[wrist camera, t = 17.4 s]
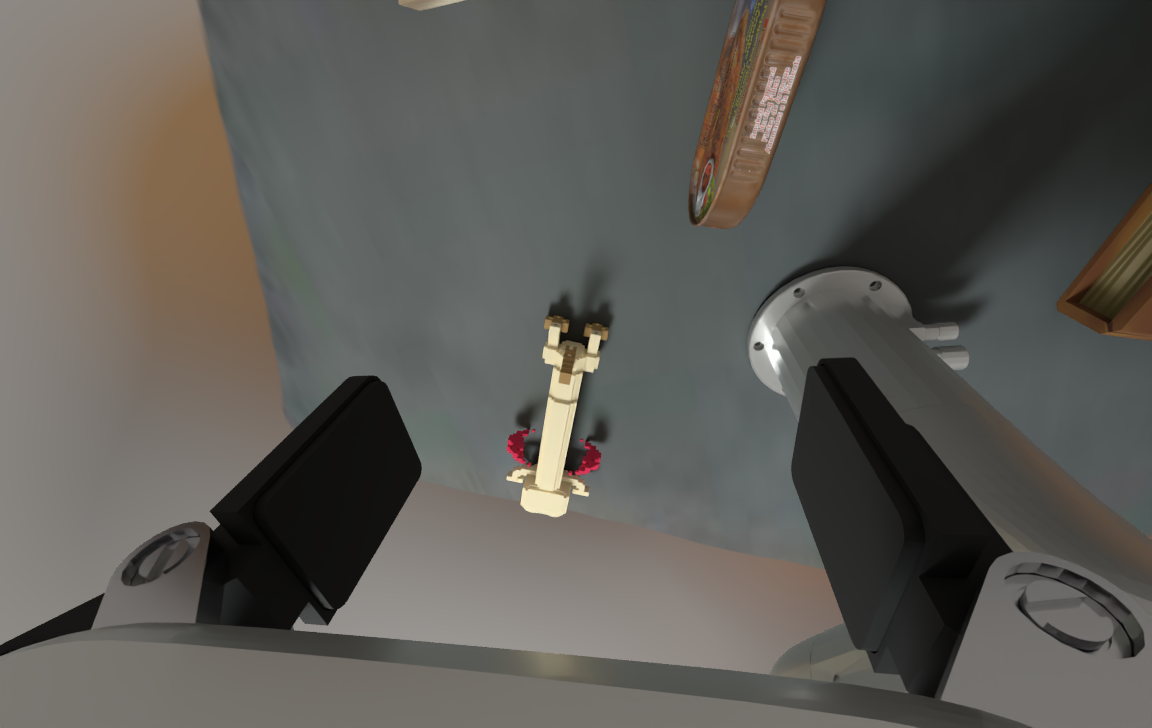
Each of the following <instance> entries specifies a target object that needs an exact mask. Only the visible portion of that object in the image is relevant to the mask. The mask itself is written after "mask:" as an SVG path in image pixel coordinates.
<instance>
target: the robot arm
mask: <svg viewBox="0 0 1152 728" xmlns="http://www.w3.org/2000/svg"><path fill="white" fill-rule="evenodd" d="M872 282H873V283H872ZM797 288H799V289H798V290H796V289H797ZM795 290H796V291H795ZM958 334H959V328H958V325H957V324H956V323H955V322H943V323H933V324H927V325H923V324H922V323H921V322H918V321H917V320H915V319H914V318H913V316H912V310H911V306H910V304H909V302H908V299H907V297H906V295H905V294H904V293H903V292H902V291H901V290H900V288H899V287H898V286H897V285H896V284H894V283H893V282H892V281H890V280H889V279H888V278H887V277H885V276H883V275H881V274H879V273H877V272H875V271H872V270H868V269H864V268H860V267H848V266H841V267H831V268H825V269H821V270H817V271H813V272H810V273H808V274H805V275H803V276H801V277H798V278H796V279H794V280H792V281H791V282H789V283H788V284H786V285H784V286H783V287H781V288H780V289H779V290H778V291H776V292H775V293H774V294H773V295H772V296H771V297H769V298H768V300H767V301H766V302H765V303H764V304H763V305H762V307H761V308H760V309H759V311H758V312H757V314H756V316H755V317H754V319H753V321H752V324H751V327H750V329H749V332H748V339H747V350H748V357H749V360H750V362H751V365H752V367H753V369H754V371H755V373H756V375H757V376H758V378H759V379H760V380H761V381H762V382H763V383H764V384H765V385H766V386H768V387H769V388H771V389H772V390H773V391H775V392H777V393H779V394H782V395H784V396H786V397H787V399H788V401H789V403H790V405H791V408H792V410H793V412H794V414H795V416H796V418H797V421H798V429H797V435H796V441H795V447H794V453H793V459H792V466H791V471H792V478H793V482H794V485H795V488H796V490H797V493H798V496H799V499H800V501H801V504H802V507H803V510H804V512H805V515H806V518H807V521H808V523H809V526H810V529H811V532H812V534H813V537H814V540H815V542H816V545H817V548H818V551H819V553H820V556H821V559H822V562H823V564H824V567H825V570H826V573H827V575H828V578H829V581H830V583H831V586H832V589H833V592H834V594H835V597H836V600H837V603H838V605H839V608H840V611H841V613H842V616H843V619H844V622H845V623H843V624H840V625H838V626H835V627H833V628H830V629H828V630H825V631H824V632H822V633H819V634H817V635H815V636H812V637H810V638H808V639H806V640H804V641H802V642H800V643H798V644H796V645H795V646H793V647H792V648H790V649H788V650H787V651H786V652H785V653H784V654H783V655H782V656H781V657H780V658H779V659H778V660H777V661H776V663H775V664H774V666H773V667H772V669H771V671H770V673H769V675H766V674H757V673H749V672H739V671H731V670H721V669H711V668H701V667H690V666H680V665H669V664H659V663H648V662H637V661H627V660H617V659H606V658H595V657H585V656H574V655H565V654H553V653H543V652H532V651H521V650H510V649H499V648H488V647H477V646H466V645H454V644H444V643H433V642H432V643H431V642H422V641H410V640H399V639H388V638H377V637H365V636H353V635H341V634H328V633H317V632H305V631H294V628H293V624H294V623H295V621H296V620H297V618H298V617H300V618H301V619H302V621H303V622H304V623H305V624H316V625H328V624H329V623H330V621H331V619H332V617H333V616H334V614H335V613H336V611H337V609H339V608H341V607H342V606H343V605H344V604H345V602H347V600H348V598H349V596H350V595H351V593H352V592H353V590H354V588H355V586H356V585H357V583H358V581H359V580H360V578H361V576H362V575H363V573H364V571H365V570H366V568H367V566H368V564H369V563H370V561H371V559H372V558H373V556H374V554H375V553H376V551H377V549H378V547H379V546H380V544H381V542H382V541H383V539H384V537H385V535H386V534H387V532H388V530H389V529H390V527H391V525H392V524H393V522H394V520H395V518H396V517H397V515H398V513H399V512H400V510H401V508H402V507H403V505H404V503H405V502H406V500H407V498H408V496H409V495H410V493H411V491H412V489H413V488H414V486H415V484H416V482H417V481H418V479H419V478H420V475H421V470H422V467H421V462H420V459H419V457H418V455H417V453H416V450H415V448H414V446H413V443H412V441H411V439H410V437H409V434H408V432H407V430H406V427H405V425H404V423H403V421H402V418H401V416H400V414H399V411H398V409H397V407H396V405H395V402H394V400H393V398H392V395H391V393H390V391H389V388H388V386H387V385H386V383H384V382H382V381H381V380H380V379H379V378H378V377H377V376H352V377H349V378H348V379H346V380H345V381H344V382H343V383H342V384H341V385H340V386H339V387H338V388H337V389H336V390H335V391H334V392H333V393H332V394H331V395H330V396H329V397H328V398H327V399H325V400H324V401H323V402H322V403H321V404H320V405H319V406H318V407H317V408H316V409H315V410H314V411H313V412H312V413H311V414H310V415H309V416H308V417H307V418H306V419H305V420H304V421H303V422H302V423H301V424H300V425H299V426H297V427H296V428H295V429H294V430H293V431H292V432H291V433H290V434H289V435H288V436H287V437H286V438H285V439H284V440H283V441H282V442H281V443H280V444H279V445H278V446H277V447H276V448H275V449H274V450H273V451H272V452H271V453H270V454H268V455H267V456H266V457H265V458H264V460H262V461H261V462H260V463H259V464H258V465H257V466H256V467H255V468H254V469H253V470H252V471H251V472H250V473H249V474H248V475H247V476H246V477H245V478H244V479H243V480H242V481H240V482H239V483H238V484H237V486H235V487H234V488H233V489H232V490H231V491H230V492H229V493H228V494H227V495H226V496H225V497H224V498H223V499H222V500H221V501H220V502H219V503H218V504H217V505H216V506H215V507H214V508H212V510H210V512H211V513H212V515H213V516H214V517H215V518H216V519H217V520H218V522H219V523H220V525H219V526H218V527H217V528H216V529H215V530H214V531H213V530H212V529H211V528H210V527H209V526H208V525H207V524H206V523H204V522H197V521H194V522H188V523H183V524H180V525H177V526H174V527H171V528H169V529H167V530H165V531H163V532H161V533H159V534H157V535H155V536H154V537H152V538H151V539H149V540H148V541H146V542H144V543H143V544H142V545H140V546H139V547H138V548H136V549H135V550H134V551H133V552H132V553H130V554H129V555H128V556H127V557H126V558H125V559H124V560H123V562H122V563H121V564H120V565H119V566H118V567H117V568H116V570H115V572H114V574H113V575H112V577H111V579H110V582H109V584H108V587H107V589H106V592H105V593H103V594H101V595H99V596H98V597H96V598H93V599H92V600H89V601H87V602H85V603H83V604H81V605H79V606H77V607H75V608H73V609H71V610H69V611H68V612H65V613H64V614H61V615H59V616H58V617H55V618H53V619H51V620H49V621H48V622H45V623H44V624H41V625H39V626H37V627H35V628H33V629H32V630H30V631H27V632H26V633H23V634H21V635H19V636H17V637H15V638H14V639H12V640H9V641H7V642H5V643H4V644H2V645H0V728H1152V540H1151V539H1150V538H1149V537H1148V536H1146V535H1145V534H1144V533H1142V532H1141V531H1140V530H1138V529H1137V528H1136V527H1134V526H1133V525H1132V524H1130V523H1129V522H1128V521H1126V520H1125V519H1124V518H1123V517H1121V516H1120V515H1119V514H1117V513H1116V512H1115V511H1113V510H1112V509H1111V508H1109V507H1108V506H1107V505H1105V504H1104V503H1103V502H1101V501H1100V500H1099V499H1098V498H1096V497H1095V496H1094V495H1093V494H1092V493H1091V492H1089V491H1088V490H1087V489H1086V488H1085V487H1084V486H1082V485H1081V484H1080V483H1079V482H1078V481H1077V480H1075V479H1074V478H1073V477H1072V476H1071V475H1070V474H1068V473H1067V472H1066V471H1065V470H1064V469H1063V468H1061V467H1060V466H1059V465H1058V464H1057V463H1056V462H1054V461H1053V460H1052V459H1051V458H1050V457H1049V456H1047V455H1046V454H1045V453H1044V452H1043V451H1042V450H1041V449H1039V448H1038V447H1037V446H1036V445H1035V444H1034V443H1033V442H1032V441H1031V440H1029V439H1028V438H1027V437H1026V436H1025V435H1024V434H1023V433H1022V432H1021V431H1020V430H1019V429H1018V428H1016V427H1015V426H1014V425H1013V424H1012V423H1011V422H1010V421H1009V420H1007V419H1006V418H1005V417H1004V416H1003V415H1002V414H1000V413H999V412H998V411H997V410H996V409H995V408H994V407H993V406H992V405H991V404H990V403H989V402H988V401H986V400H985V399H984V398H983V397H982V396H981V395H980V394H979V393H978V392H977V391H976V390H975V389H973V388H972V387H971V386H970V385H969V384H968V383H967V382H966V381H965V380H964V379H963V378H962V377H961V376H959V375H958V374H957V373H956V372H955V371H954V370H961V369H964V368H966V367H967V365H968V363H969V355H968V351H967V350H966V348H965V347H963V346H961V345H956V346H941V347H933V348H929V347H928V346H927V345H926V344H925V343H924V342H923V341H929V340H934V341H941V340H954V339H956V338H957V336H958ZM757 342H758V343H757Z"/></svg>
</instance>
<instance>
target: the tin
mask: <svg viewBox="0 0 1152 728" xmlns="http://www.w3.org/2000/svg"><path fill="white" fill-rule="evenodd" d="M826 1H827V0H736V3H735V6H734V9H733V13H732V17H731V20H730V23H729V27H728V31H727V34H726V38H725V42H724V46H723V50H722V54H721V57H720V61H719V65H718V69H717V73H716V77H715V81H714V85H713V89H712V92H711V96H710V100H709V104H708V108H707V112H706V115H705V119H704V123H703V127H702V131H701V135H700V139H699V142H698V146H697V150H696V154H695V158H694V163H693V169H692V174H691V180H690V187H689V199H688V209H689V218H690V222H691V223H692V225H693V226H707V227H713V228H720V229H730V228H733V227H735V226H737V225H738V224H739V223H741V222H742V221H743V219H744V218H745V217H746V216H747V215H748V213H749V212H750V210H751V209H752V207H753V205H754V203H755V201H756V199H757V197H758V195H759V193H760V191H761V189H762V187H763V184H764V182H765V179H766V177H767V174H768V171H769V168H770V165H771V163H772V160H773V157H774V154H775V152H776V149H777V146H778V143H779V140H780V137H781V134H782V132H783V129H784V126H785V123H786V120H787V118H788V115H789V112H790V109H791V106H792V103H793V100H794V97H795V95H796V92H797V89H798V86H799V83H800V80H801V77H802V74H803V71H804V68H805V65H806V63H807V60H808V57H809V54H810V51H811V48H812V45H813V42H814V39H815V36H816V33H817V30H818V27H819V25H820V22H821V18H822V15H823V12H824V8H825V5H826Z"/></svg>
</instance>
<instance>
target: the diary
mask: <svg viewBox="0 0 1152 728" xmlns="http://www.w3.org/2000/svg"><path fill="white" fill-rule="evenodd" d="M1057 310H1058V311H1060V312H1061V313H1063V314H1065V315H1067V316H1069V317H1070V318H1072V319H1074V320H1076V321H1078V322H1079V323H1081V324H1083V325H1085V326H1087V327H1089V328H1090V329H1092V330H1094V331H1096V332H1098V333H1099V334H1105V335H1112V336H1119V337H1127V338H1134V339H1141V340H1149V341H1152V182H1151V184H1150V185H1149V186H1148V187H1147V189H1146V190H1145V191H1144V193H1143V194H1142V195H1141V196H1140V198H1139V199H1138V200H1137V201H1136V203H1135V204H1134V205H1133V206H1132V208H1131V209H1130V210H1129V212H1128V213H1127V214H1126V215H1125V217H1124V218H1123V219H1122V220H1121V222H1120V223H1119V224H1118V226H1117V227H1116V228H1115V229H1114V231H1113V232H1112V233H1111V234H1110V236H1109V237H1108V238H1107V239H1106V241H1105V242H1104V243H1103V245H1102V246H1101V247H1100V248H1099V250H1098V251H1097V252H1096V253H1095V255H1094V256H1093V257H1092V259H1091V260H1090V261H1089V262H1088V264H1087V265H1086V266H1085V267H1084V269H1083V270H1082V271H1081V272H1080V274H1079V275H1078V276H1077V278H1076V279H1075V280H1074V281H1073V283H1072V284H1071V285H1070V286H1069V288H1068V289H1067V290H1066V292H1065V293H1064V294H1063V295H1062V297H1061V298H1060V299H1059V300H1058V302H1057Z"/></svg>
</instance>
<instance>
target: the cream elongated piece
mask: <svg viewBox="0 0 1152 728" xmlns="http://www.w3.org/2000/svg"><path fill="white" fill-rule="evenodd" d="M569 322H570V320H568V319H564V317H561V316H556V315H554V317H553V316H548V315H547V317H546V319H545V326H544V328H545V329H549V338H548V341H546V343H545V346H544V351H543V358H545V363H547V364H552V365H554V368H553V373H552V380H551V386H550V392H549V397H548V403H547V409H546V415H545V421H544V428H543V434H542V440H541V446H540V452H539V460H538V464H535V465H534V466H533V465H532V467H530V466H531V463H529V462H528V464H525V462H526V460H525V459H523V458H524V455H523V450H524V446H525V443H523V440H524V437H522V436H527V437H528V434H529V429H527V430H523V432H522V431H517V433H516V434H513V435H510V436H509V439H508V446H507V451H509V453H512V455H513V458H515V461H519V463H523V464H524V465H522V467H520V466H517V467H516V468H515V467H514V469H513V471H509V472H508V475H507V480H509V481H514V482H519V483H523V479H524V476H526V479H525V483H524V486H523V491H522V498H521V505H523V508H525V510H527V511H528V512H533V513H536V512H537V513H542V514H547V515H549V516H552V517H559V516H560V515H561V516H562V515H563V514H566V509H567V505H568V500H569V495H570V489H571V485H574V486H573V491H572V493H573V494H578V495H583V496H588V494H589V487H588V486H585V484H586V482H584V481H583V480H584V479H580V478H578V477H579V476H578V475H581V473H582V474H585V475H586V473H589V472H590V470H596V469H598V467H599V463H600V459H601V453H599V452H598V451H599V450H596V446H592V445H591V443H588V441H586V442H585V448H587V449H590V451H589V450H587V454H586V455H584V456H583V462H582V466H579V470H576V471H575V475H572V471H569V473H568V471H567V470H563V469H564V464H565V460H566V455H567V450H568V445H569V440H570V435H571V430H572V425H573V420H574V415H575V410H576V405H577V400H578V395H579V390H580V385H581V380H582V375H583V371H587V372H592V373H593V371H594V368H595V369H597V367H598V363H599V358H600V351H598V347H599V343H600V339H601V340H607V336H608V331H609V327H604V326H602V324H597V323H593V324H588V323H586V326H585V331H584V336H586V337H590V340H589V345H588V349H585V345H582V343H577V342H572V341H567V340H566V342H564V341H563V342H562V344H560V343H559V339H560V332H565V333H567V331H568V327H569ZM532 432H534V433H535V430H532ZM580 442H583V440H582V439H580Z"/></svg>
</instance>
